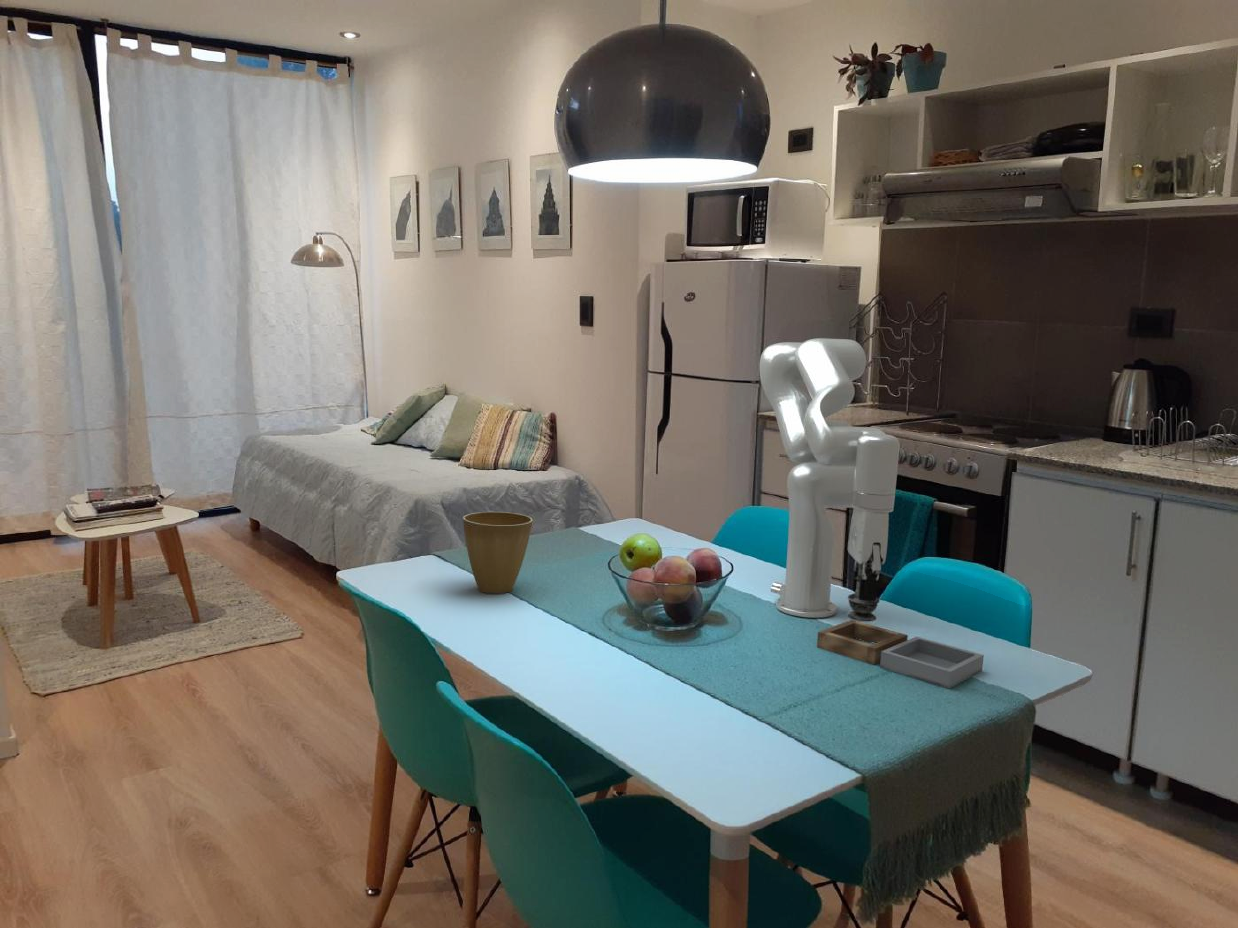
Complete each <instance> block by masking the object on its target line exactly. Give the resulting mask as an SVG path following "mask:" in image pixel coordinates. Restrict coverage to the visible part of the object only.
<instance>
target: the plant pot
mask: <svg viewBox="0 0 1238 928" xmlns="http://www.w3.org/2000/svg"><path fill="white" fill-rule="evenodd" d="M462 519H463V520H462V521H463V530H464V538H465V545H466V551H467V555H468V559H469V564H470V567H471V572H472V575H473V578H474V582H475V584H476V586H477V587H476V588H477V589H478V591H479V592H481V593H485V594H493V595H495V594H497V595H499V594H507V593H510V592H511V591H512V590H513V588H514V586H515V584H516V581H517V579H518V576H519V574H520V571H521V568H522V565H523V562H524V558H525V556H526V552H527V549H528V548H527V547H528V544H529V540H530V539H529V538H530V535H531V529H532V523H533V518H531V517H530V516H528V515H525V514H521V513H515V512H507V511H479V512H473V513H469V514H466V515H464V516H462Z"/></svg>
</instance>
